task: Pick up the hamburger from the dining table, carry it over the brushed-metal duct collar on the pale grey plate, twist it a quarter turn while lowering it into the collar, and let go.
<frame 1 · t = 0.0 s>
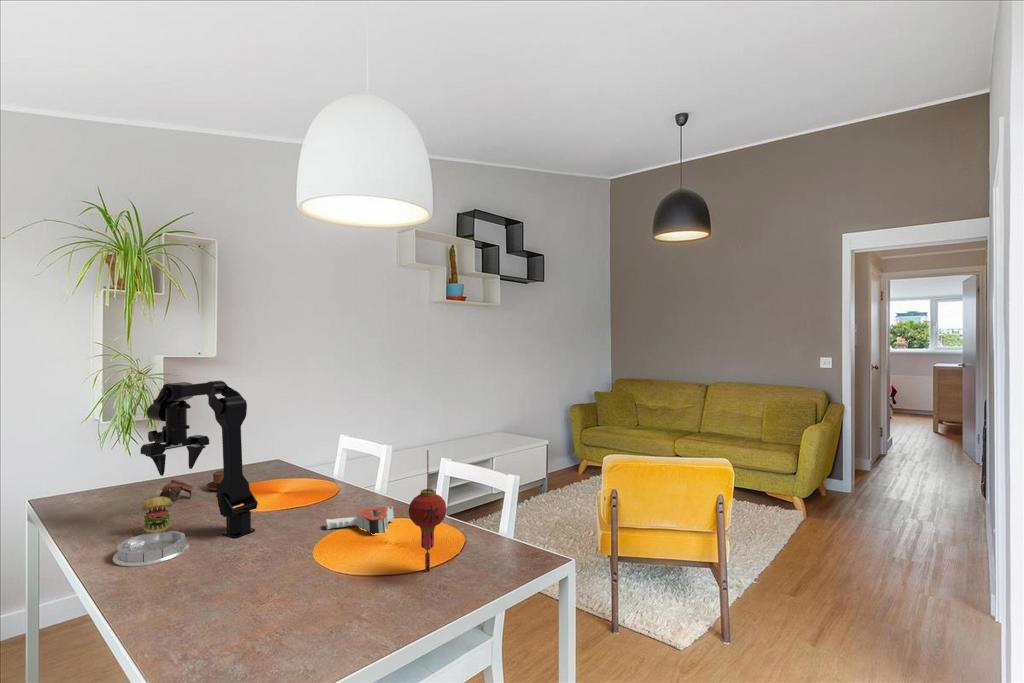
hand: (176, 472, 172), 15 cm above the table, tool pointing down, fingers open, 9 cm apart
tape dispenser: (365, 529, 166), on the table
cup and saucer: (224, 489, 206), on the table
lantern: (427, 571, 136), on the table
duct collar: (152, 552, 146), on the table
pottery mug: (175, 501, 190), on the table
hamburger: (157, 532, 161), on the table
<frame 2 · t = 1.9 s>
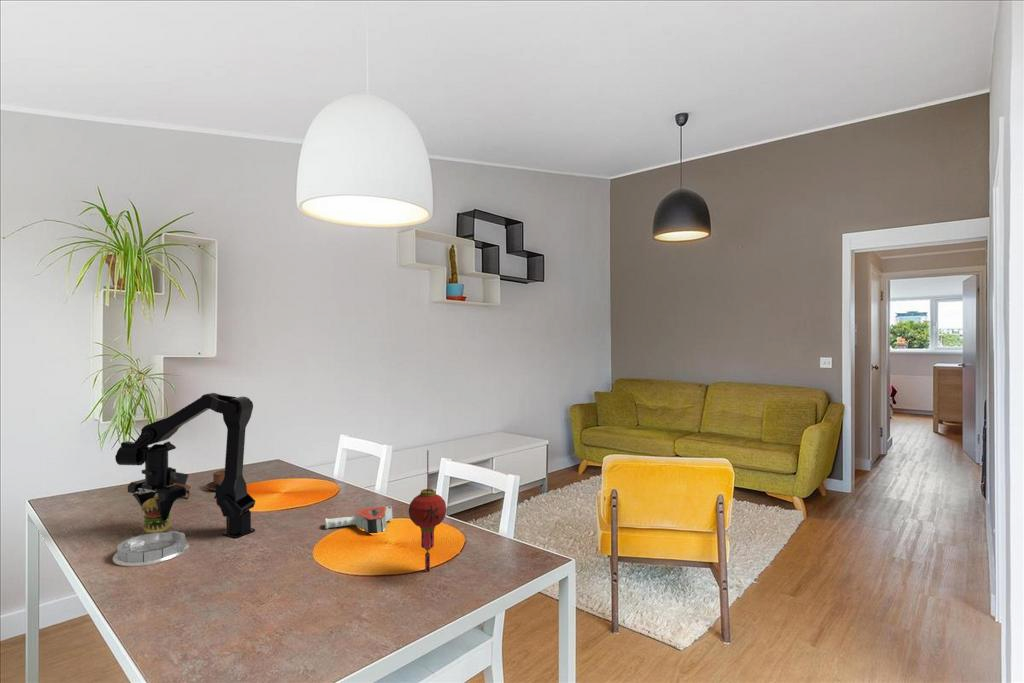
hand: (157, 518, 161), 4 cm above the table, tool pointing down, fingers closed on hamburger, 7 cm apart
hamburger: (157, 532, 161), on the table, touching gripper
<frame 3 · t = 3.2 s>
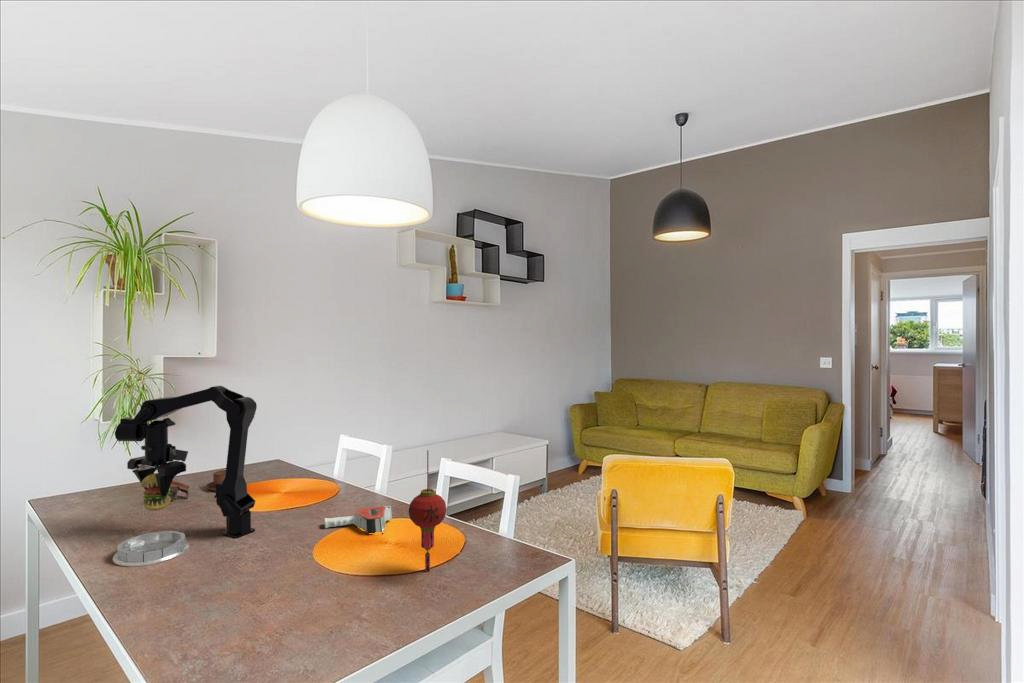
hand: (156, 494, 160), 11 cm above the table, tool pointing down, fingers closed on hamburger, 7 cm apart
hamburger: (157, 509, 161), point 7 cm above the table, touching gripper
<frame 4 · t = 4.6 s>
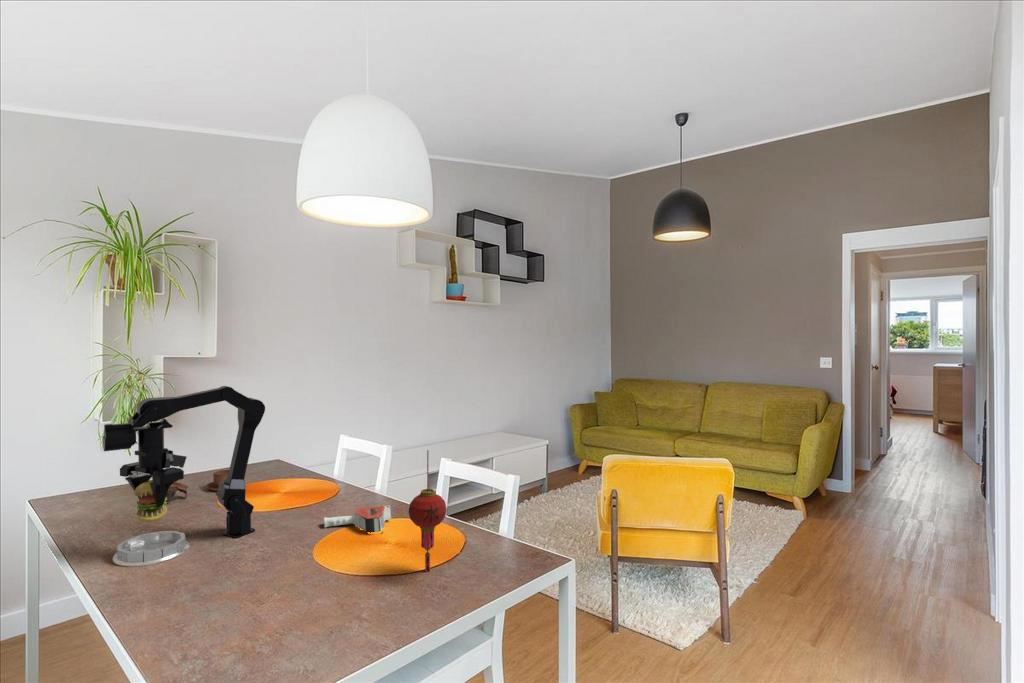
hand: (152, 504, 146), 13 cm above the table, tool pointing down, fingers closed on hamburger, 7 cm apart
hamburger: (152, 520, 146), point 9 cm above the table, touching gripper
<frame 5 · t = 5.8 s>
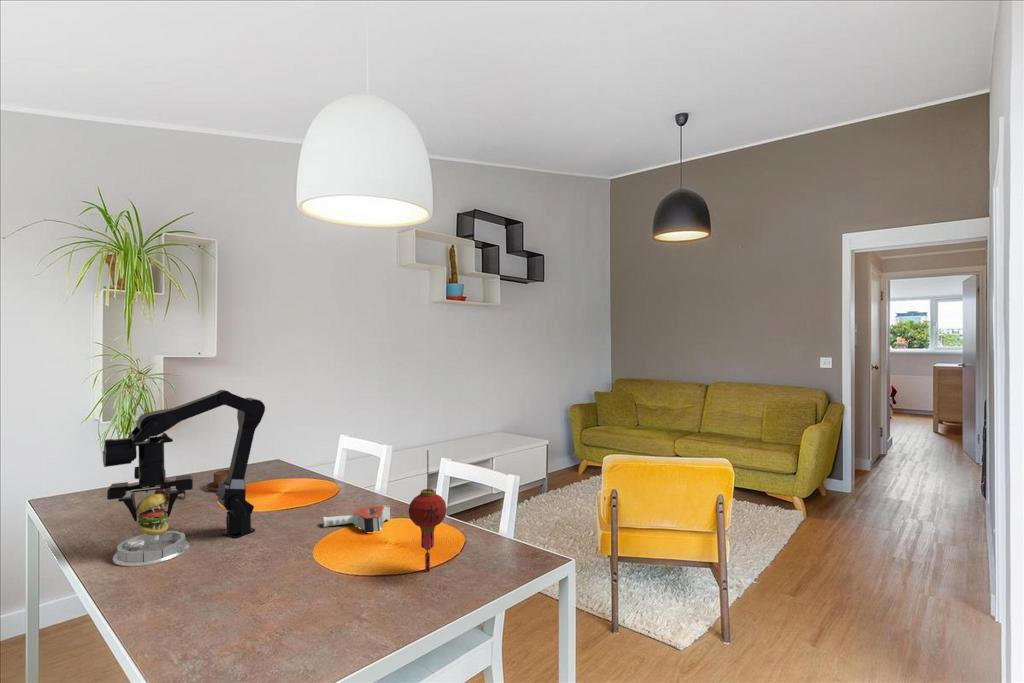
hand: (152, 518, 146), 9 cm above the table, tool pointing down, fingers closed on hamburger, 7 cm apart
hamburger: (153, 534, 146), point 5 cm above the table, touching gripper
when the fingers open (6 cm above the table, at t = 7.3 s): hamburger drops 2 cm, resting on duct collar.
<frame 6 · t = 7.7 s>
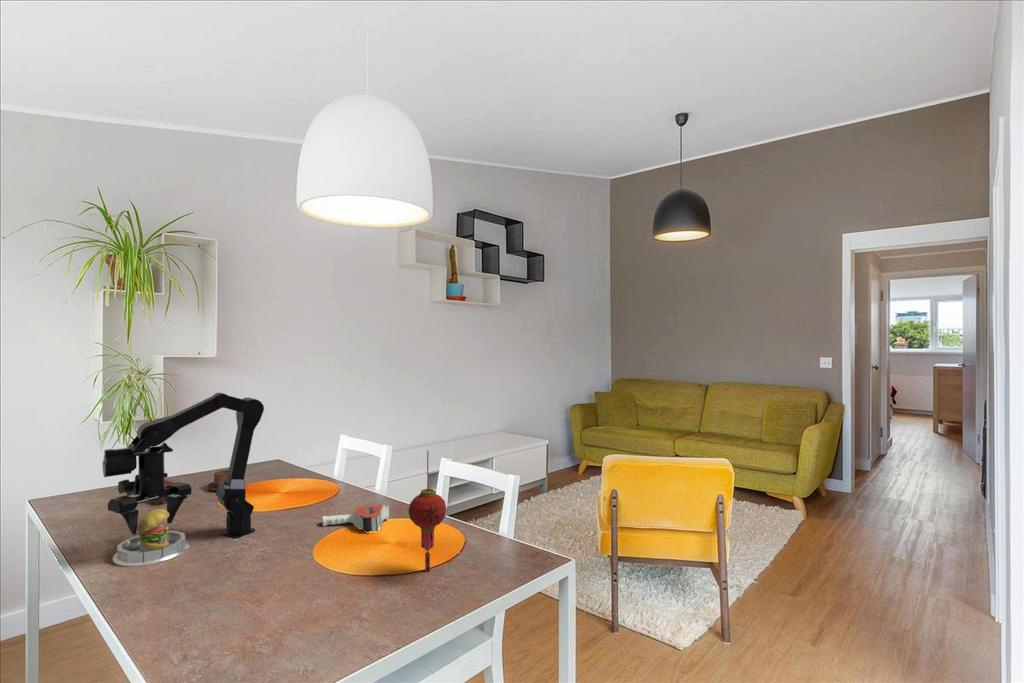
hand: (152, 528, 146), 6 cm above the table, tool pointing down, fingers open, 9 cm apart
hamburger: (154, 550, 146), resting on duct collar
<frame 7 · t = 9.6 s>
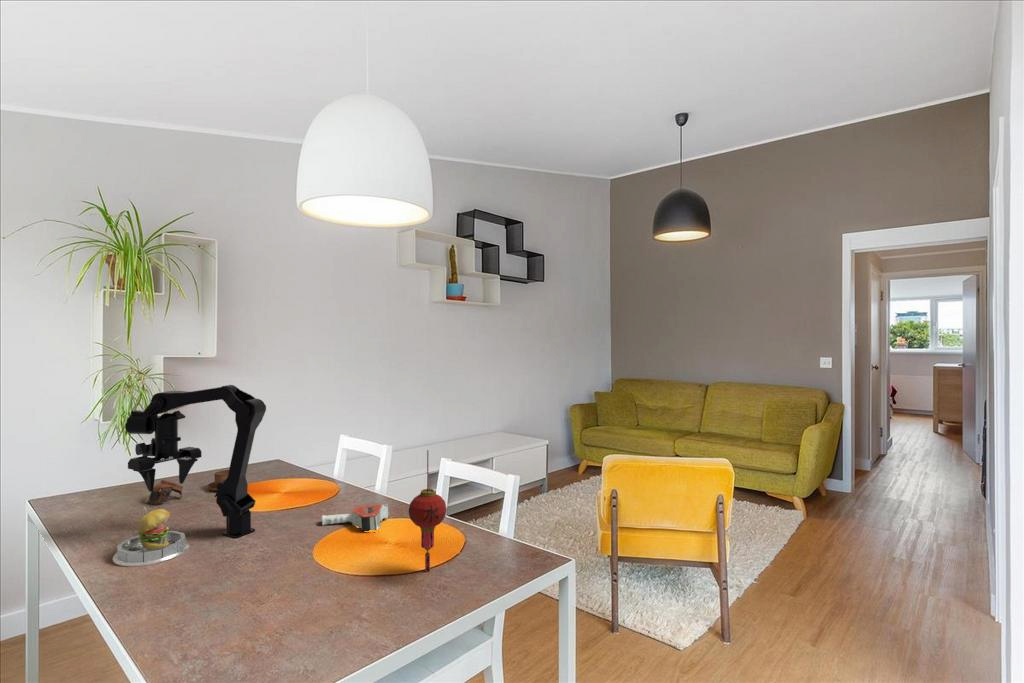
hand: (166, 487, 161), 13 cm above the table, tool pointing down, fingers open, 9 cm apart
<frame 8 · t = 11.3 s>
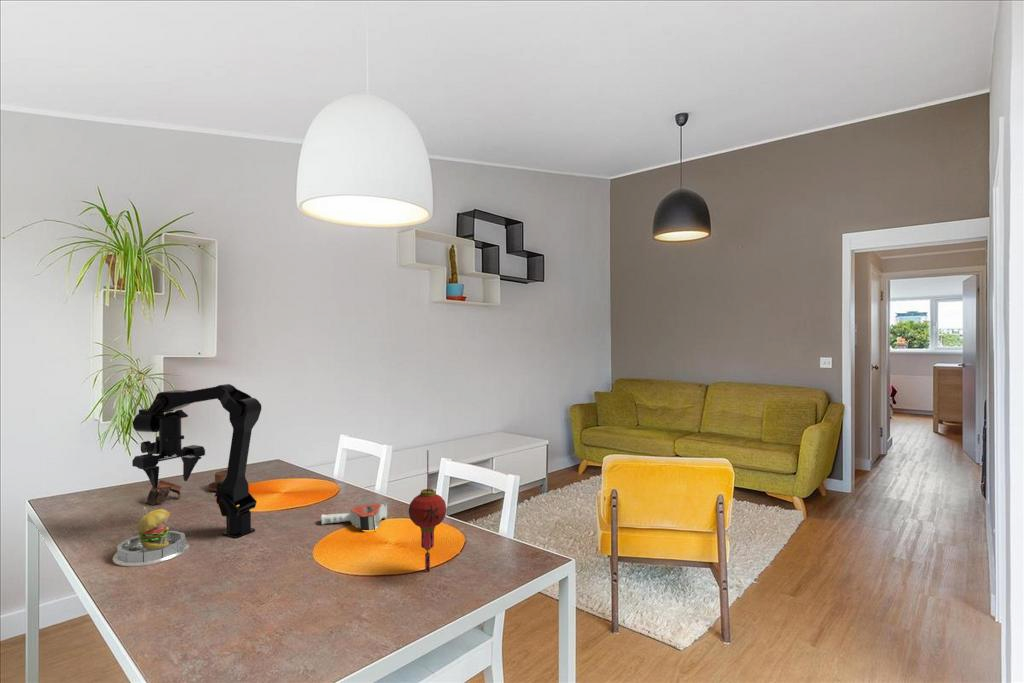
hand: (170, 484, 164), 13 cm above the table, tool pointing down, fingers open, 9 cm apart
at the end: hamburger 0.5 cm off-centre on the duct collar, point 0.4 cm above the duct collar's base; hamburger tilted 0°; the gripper is holding nothing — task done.
